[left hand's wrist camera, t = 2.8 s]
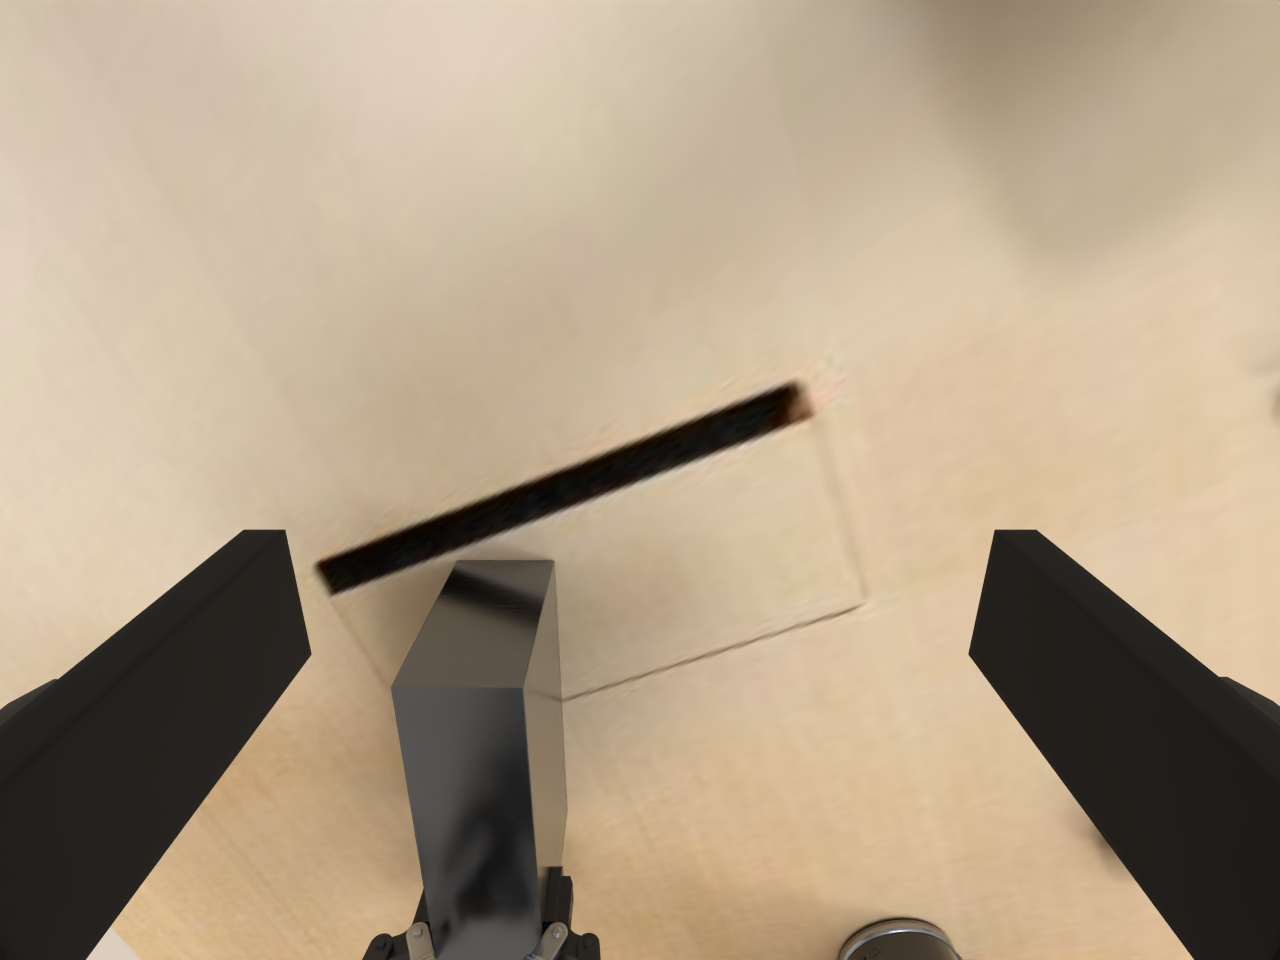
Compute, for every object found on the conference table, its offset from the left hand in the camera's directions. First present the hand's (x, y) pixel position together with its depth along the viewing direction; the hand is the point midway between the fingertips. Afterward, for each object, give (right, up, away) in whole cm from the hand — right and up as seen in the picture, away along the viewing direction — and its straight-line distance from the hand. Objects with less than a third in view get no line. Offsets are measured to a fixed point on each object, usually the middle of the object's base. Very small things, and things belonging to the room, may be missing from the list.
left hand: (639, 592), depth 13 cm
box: (-8, -13, +34) cm, 37 cm away
